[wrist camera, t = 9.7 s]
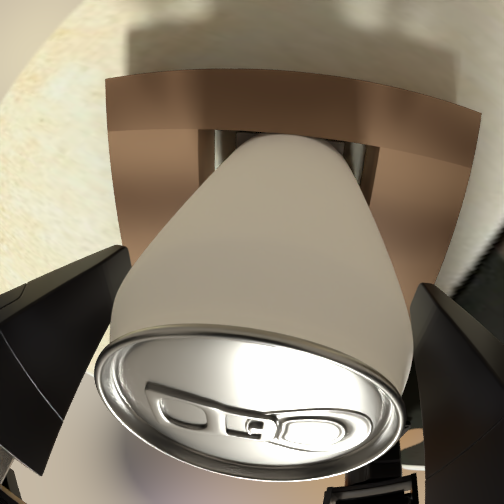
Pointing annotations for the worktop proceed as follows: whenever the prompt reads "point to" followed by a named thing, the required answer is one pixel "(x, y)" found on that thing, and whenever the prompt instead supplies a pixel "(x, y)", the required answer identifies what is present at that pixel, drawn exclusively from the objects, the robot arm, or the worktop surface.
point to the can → (264, 323)
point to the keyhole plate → (296, 123)
